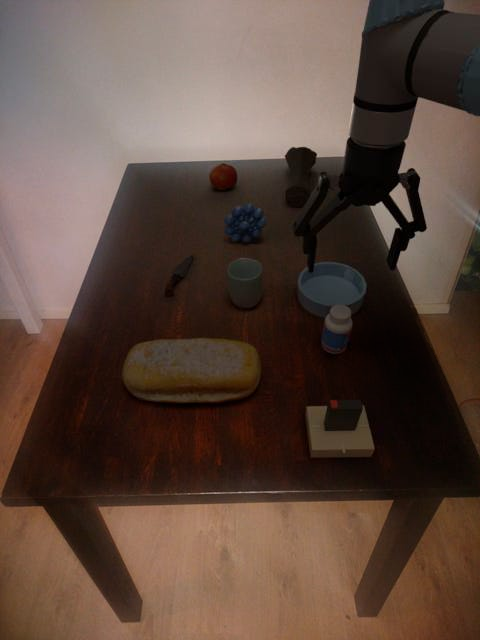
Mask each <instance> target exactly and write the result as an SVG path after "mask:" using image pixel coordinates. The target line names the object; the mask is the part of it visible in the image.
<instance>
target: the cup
mask: <svg viewBox="0 0 480 640" xmlns="http://www.w3.org/2000/svg"><path fill="white" fill-rule="evenodd" d="M226 274H227V275H226V276H227V277H226V278H227V286H228V287H227V288H228V292H229V297H230V299H231V301H232V303H233V304H234V305H235V306H236V307H239V308H242V309H252V308H255V306H257V305H258V304H259V302H260V301H261V298H262V294H263V287H264V268H263V265H262V263H261V262H260V261H259V260H257V259H254V258H250V257H240V258H237V259H234V260H233V261H231V262H230V263H229V265H228V267H227V270H226Z"/></svg>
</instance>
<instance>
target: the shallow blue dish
mask: <svg viewBox="0 0 480 640" xmlns="http://www.w3.org/2000/svg"><path fill="white" fill-rule="evenodd" d="M296 283H297V284H296V299H297V301H298V303H299V305H300V306H301V307H302V308H303V309H304V310H305V311H307V312H308V313H310V314H312V315H313V316H316V317H320V318H324V319H325V318H326V316H327V315H328V314H330V309H331V308H332V307H333V306H334V305H345V306H347V307H348V308H349V309H350V310H351V316H352V315H355V314H356V313H357V312H358V311H359V310H360V309H361V308H362V306H363V304H364V301H365V298H366V294H367V287H368V286H367V285H368V284H367V281H366V280H365V277H364V276H363V275H362V274H361V273H360V272H359V271H358V270H357V269H355V268H354V267H351V266H350V265H347V264H345V263H340V262H337V261H322V262H317V263H315V264H314V272H313V273H309V270H308V266H307V267H305V268H304V269H303V270H302V271H301V272H300V273H299V276H298V278H297V282H296Z"/></svg>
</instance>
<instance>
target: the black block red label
mask: <svg viewBox="0 0 480 640" xmlns="http://www.w3.org/2000/svg"><path fill="white" fill-rule="evenodd" d="M362 405H363V402H362V399H329V400H328V401H327V405H326V406H327V410H326V414H325V419H324V428H325V431H355V430H356V427H357V424H358V421H359V418H360V416H361V413H362V410H363V406H362Z"/></svg>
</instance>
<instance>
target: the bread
mask: <svg viewBox="0 0 480 640" xmlns="http://www.w3.org/2000/svg"><path fill="white" fill-rule="evenodd" d="M261 373H262V364H261V359H260V357H259V353H258V351H257V349H256V347H254V345H253V344H251V343H249V342H245V341H239V340H234V339H226V338H208V337H197V338H196V337H193V338H177V339H176V338H175V339H174V338H172V339H171V338H170V339H167V338H166V339H165V338H164V339H154V340H149V341H143V342H139V343H137V344H135V345H134V346H132V347H131V348H130V350H129V351H128V352H127V355H126V358H125V360H124V361H123V365H122V371H121V378H122V381H123V384H124V385H125V387H126V389H127V390H128V391H129V393H130V394H131V395H132V396H134V397H136V398H137V399H139V400H141V401H145V402H153V403H167V404H183V405H184V404H190V403H191V404H205V403H206V404H212V403H213V404H218V403H224V402H234V401H238V400H243V399H246V398H247V397H249V396H251V395H252V394H253V393H254V392H255V390H256V389H257V388H258V386H259V384H260V379H261Z"/></svg>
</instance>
